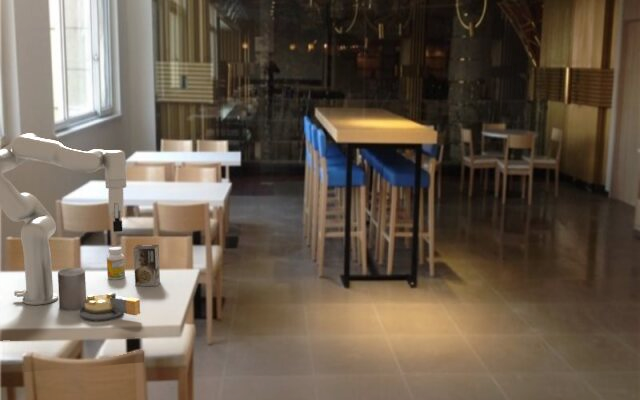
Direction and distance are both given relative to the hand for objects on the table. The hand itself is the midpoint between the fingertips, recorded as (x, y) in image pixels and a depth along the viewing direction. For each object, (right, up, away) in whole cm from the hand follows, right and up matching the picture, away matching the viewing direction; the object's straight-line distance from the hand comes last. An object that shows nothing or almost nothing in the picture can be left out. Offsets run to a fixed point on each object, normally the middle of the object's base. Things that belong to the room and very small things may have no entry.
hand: (118, 231), depth 270 cm
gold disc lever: (+2, -28, -14) cm, 31 cm away
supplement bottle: (-10, -21, +33) cm, 41 cm away
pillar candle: (-16, -28, -4) cm, 33 cm away
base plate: (-2, -30, -12) cm, 32 cm away
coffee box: (+5, -23, +25) cm, 34 cm away
